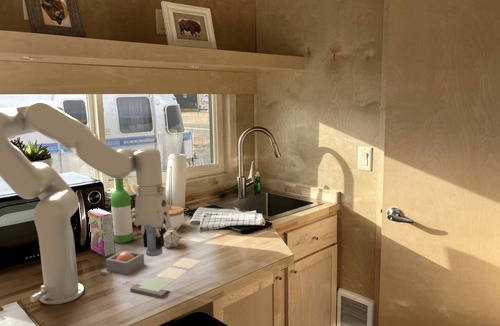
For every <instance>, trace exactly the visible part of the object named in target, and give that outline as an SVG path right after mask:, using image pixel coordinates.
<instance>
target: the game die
mask: <svg viewBox="0 0 500 326" xmlns="http://www.w3.org/2000/svg"><path fill="white" fill-rule="evenodd" d="M182 238H183V236H180V235H179V233H178V230H176V228H175V229H174V230H167V232H166V233H165V234H164V246H163V247H164V248H165V249H169V248H176V247H177V248H178V246H179V243H180V240H181V239H182Z"/></svg>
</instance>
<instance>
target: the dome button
mask: <svg viewBox="0 0 500 326" xmlns="http://www.w3.org/2000/svg"><path fill="white" fill-rule="evenodd" d="M132 258H134V256H133V255H132V254H131V253H129V252H122V253H120V254H119V255H118V257H117V258H116V260H119V261H125V262H127V261H128V260H130V259H132Z"/></svg>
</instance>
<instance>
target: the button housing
mask: <svg viewBox="0 0 500 326" xmlns="http://www.w3.org/2000/svg"><path fill="white" fill-rule="evenodd" d="M122 252H129V253H131V254H132V255H133V256H134V258H132V259H130V260H128V261H127V262H125V261H119V260H116V258H117V257H118V255H119V254H120V253H122ZM144 265H145V255H144V253H142V252H135V251H130V250H124V249H123V250H121V251H119V252H118V253H115V254H112V255H110V256H109V257H108V258H106V259H105V266H106V268H104V269H102V270H100V271H99V272H100V273H99V274H100V275H103V276H106V275H108V274H111V272H113V273H118V274H124V275H129V274H131V273H132V272H134V271H136V270H137V269H139V268H140V267H142V266H144Z"/></svg>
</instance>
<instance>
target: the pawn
mask: <svg viewBox="0 0 500 326" xmlns="http://www.w3.org/2000/svg"><path fill="white" fill-rule="evenodd" d="M145 229H146V234H147V247H146V249H145V255H146V256H147V257H158V256H161V255H162V254H163V247H161V248H160V249H156V239H155V237H157V234H156V229H155V227H152V226H150V225H146V226H145Z"/></svg>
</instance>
